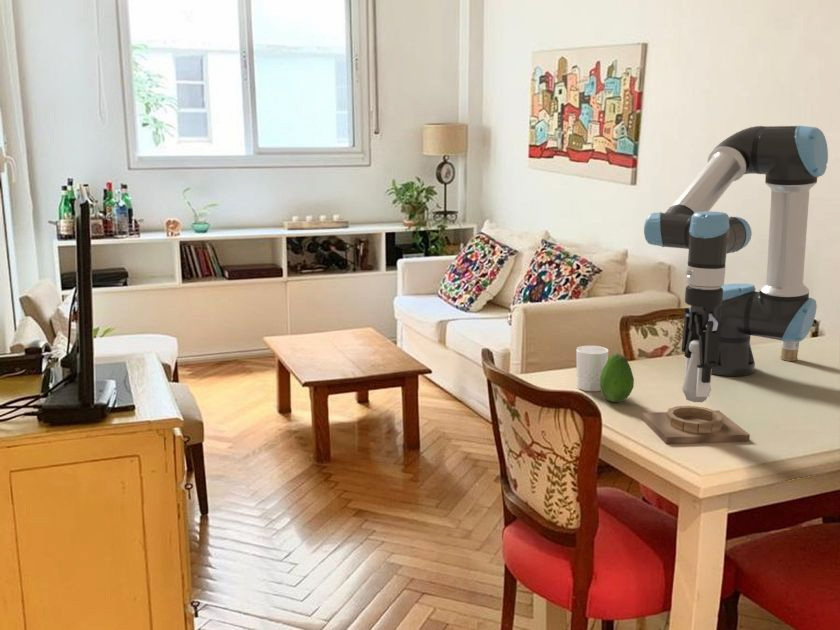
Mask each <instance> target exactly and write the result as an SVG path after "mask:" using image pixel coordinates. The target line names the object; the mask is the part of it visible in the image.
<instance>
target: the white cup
mask: <svg viewBox="0 0 840 630" xmlns="http://www.w3.org/2000/svg"><path fill="white" fill-rule="evenodd" d="M575 353H576V377H577V378H576V379H577V381H576V383H577V385H576V387H577V389H579V390H582V391H585V392H602V391H601V387H600V376H601V373H602V371H603V368H604V366H605V365H606V363H607V361H608V359H609V358H608V357H609V349H608V348H606V347H604V346H600V345H582V346H578V347H576V352H575Z"/></svg>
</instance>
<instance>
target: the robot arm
mask: <svg viewBox="0 0 840 630" xmlns="http://www.w3.org/2000/svg"><path fill="white" fill-rule="evenodd" d="M828 160H829V149H828V141H827V139H826V136H825V134H824V132H823V131H822V130H821V129H820V128H819V127H815V126H805V125H780V126H779V125H775V126H774V125H773V126H772V125H771V126H770V125H769V126H768V125H767V126H766V125H764V126H763V125H757V126H751V127H747V128H744V129H742V130H740V131H737V132H736V133H734V134H731V135H730V136H728V137H727V138H726V139H725V138H724V140H722V141H721V142H720V143H719V144H717V145H716V146H715V147H714V148H713V149H712V151H711V152H710V153H709V155H708V157H707V163H706V165H705V166H704V167H702V169H701V170H700V171H699V173H698V174H697V175H696V176H695V177H694V178H693V180H692V181H691V182H690V183H689V184H688V186H687V187H686V188H685V189H684V190H683V192H682V193H681V194H680V195H679V196H678V197H677V198H676V199H675V201H674V202H673V203H672V204H671V206H670V207H668V209H666V211H665V212H661V211H659V212H652V213H650V214H649V215H647V218H646V219H645V221H644V226H643V233H644V239H645V241H646V242H647V244H649V245H652V246H657V247H658V246H659V247H662V248H673V249H688V256H687V268H686V269H687V270H685V271H684V272H685V273H684V274H685V275H686V283H687V286H686V287H685V293H684V303H685V304H686V305H689V306H690V307H685V308H684V309H683V311H684V313H683V315H684V316H683V317H684V321H683V328H682V329H683V330H682V332H683V333H682V341H681V352H682V353H684V357H685V364H684V365H685V366H684V377H683V381H684V380H685V376H686V373H687V369H688V366H689V362H690V358H691V354H692V352H690V351H689V345H690V342H691V341H694V340H699V349H700V365H697V368H698V372H697V384H696V396H697V397H707V398H708V397H710V396H711V395H710V393H711V391H710V386H711V381H712V375H717V376H727V377H742V376H743V377H744V376H749V375H752V374H754V373H755V366H756V362H755V358H754V355H753V350H752V347H751V336H753V337H758V338H759V337H760V338H765V339H771V340H778V341H781V342H782V341H784V342H785V341H790V342H799V343H800V342H802V341H804V340H805V338H807V336H808V335H809V333H810V331H811V329H812V326H813V324H814V321H815V317H816V314H817V301H816V299H814V298H813V297H810V289H809V287H807V286H806V285H805V284H804V275H805V274H804V273H805V260H806V259H805V258H806V246H807V245H806V244H807V230H808V216H809V215H808V214H809V202H810V190H811V189H812V188H813V187H814V186H815V185H816V184H817V182H818V178H819V177H823V175H824V174H825V173H826V170H827V168H828V167H827V164H828V163H829V162H828ZM749 174H751V175H752V174H757V175H765V180H764V181H765V183H764V184H765V185H766V186H768V188H769V189H770V191H771V194H770V195H771V196H770V211H769V227H768V228H769V229H768V247H767V248H768V249H767V265H766V280H765V283H763V284H762V285H761V286H760V287H759V291H756V286H755V284H750V283H727V284H725V277H726V262H727V261H726V260H727V254H730V253H736V252H738V251H740V250H743V249H744V248H745V247H746V246H748V245H749V243H750V242H751V239H752V236H753V235H752V233H753V232H752V227H751V226H750V224H749V222H748V221H746V219H744V218H742V217H740V216H729V215H728V214H727V213H726V212H723V211H721V212H720V211H713V210H712V208H713V207H714V206H715V205H716V203H717V202H718V201H719V200H720V198H721V197H722V196H723V195H724V193H725V192H726V191H727V190H728V188H729V187H730V186H731V185H732V183H734V182H736V181H738V180H740V179H741V178H742V177H743V176H744V175H749ZM710 210H712V211H710Z"/></svg>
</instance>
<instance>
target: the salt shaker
mask: <svg viewBox="0 0 840 630" xmlns="http://www.w3.org/2000/svg"><path fill="white" fill-rule="evenodd" d="M689 351H690V352H692V354H691V358H690V362H689V366H688V369H687V373H686V376H685V380H684V379H683V382H682V383H683V384H682V388H681V389H682V392H683V394H684V396H685V399H686V401H689V402H693V403H703V402H705V401H707V399H708V397H697V396H696V384H697V372H698V368H697V365H700V349H699V340H694V341H691V342H690V345H689ZM711 387H712V386H711V385H710V392H711V391H712V388H711Z"/></svg>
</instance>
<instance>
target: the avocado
mask: <svg viewBox="0 0 840 630" xmlns="http://www.w3.org/2000/svg"><path fill="white" fill-rule="evenodd" d="M630 365H631V364H630V363H629V361H628V360H627V358H626V357H625V356H624V355H622V354H620V353H614V354H611V355H610V356H609V358H608V361H607V363H606V365H605V366H604V368H603V371H602V373H601V376H600V387H601V391H600V392H601V394H602V395H603V397H604V398H605V399H606V400H607V401H610V402H613V403H620V402H623V401H624V400H626V399H627V398H628V397H630V395H631V393H632V391H633V389H634V384H635V378H634V374H633V371H632V368H631V366H630Z"/></svg>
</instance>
